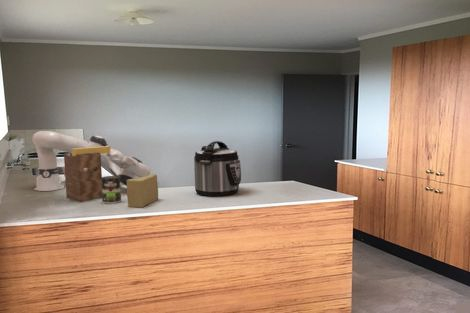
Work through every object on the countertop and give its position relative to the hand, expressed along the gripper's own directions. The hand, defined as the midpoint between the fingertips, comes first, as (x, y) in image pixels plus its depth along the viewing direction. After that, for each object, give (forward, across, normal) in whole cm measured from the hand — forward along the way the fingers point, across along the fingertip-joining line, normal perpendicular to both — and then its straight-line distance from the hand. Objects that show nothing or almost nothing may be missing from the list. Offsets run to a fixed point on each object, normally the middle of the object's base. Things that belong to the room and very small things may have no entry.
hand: (110, 154), depth 267 cm
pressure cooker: (-53, -45, +2) cm, 69 cm away
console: (+1, +4, -30) cm, 30 cm away
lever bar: (+11, +1, -5) cm, 12 cm away
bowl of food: (-21, +68, -17) cm, 74 cm away
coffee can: (-4, -18, -27) cm, 32 cm away
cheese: (-13, -36, -22) cm, 44 cm away
